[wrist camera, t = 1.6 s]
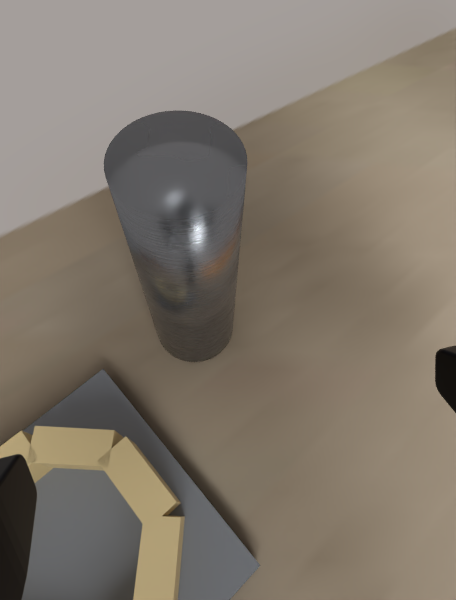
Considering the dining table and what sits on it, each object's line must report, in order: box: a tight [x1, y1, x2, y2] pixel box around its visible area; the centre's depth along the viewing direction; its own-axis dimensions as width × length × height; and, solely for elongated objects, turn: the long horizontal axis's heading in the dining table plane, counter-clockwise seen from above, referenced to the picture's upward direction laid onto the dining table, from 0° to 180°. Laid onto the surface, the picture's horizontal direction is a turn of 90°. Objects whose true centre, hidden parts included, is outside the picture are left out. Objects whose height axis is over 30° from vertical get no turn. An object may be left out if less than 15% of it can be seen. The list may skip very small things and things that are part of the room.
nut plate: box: [0, 369, 260, 600], centre depth 18 cm, size 12×12×4 cm
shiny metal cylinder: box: [104, 111, 247, 362], centre depth 19 cm, size 4×4×13 cm
